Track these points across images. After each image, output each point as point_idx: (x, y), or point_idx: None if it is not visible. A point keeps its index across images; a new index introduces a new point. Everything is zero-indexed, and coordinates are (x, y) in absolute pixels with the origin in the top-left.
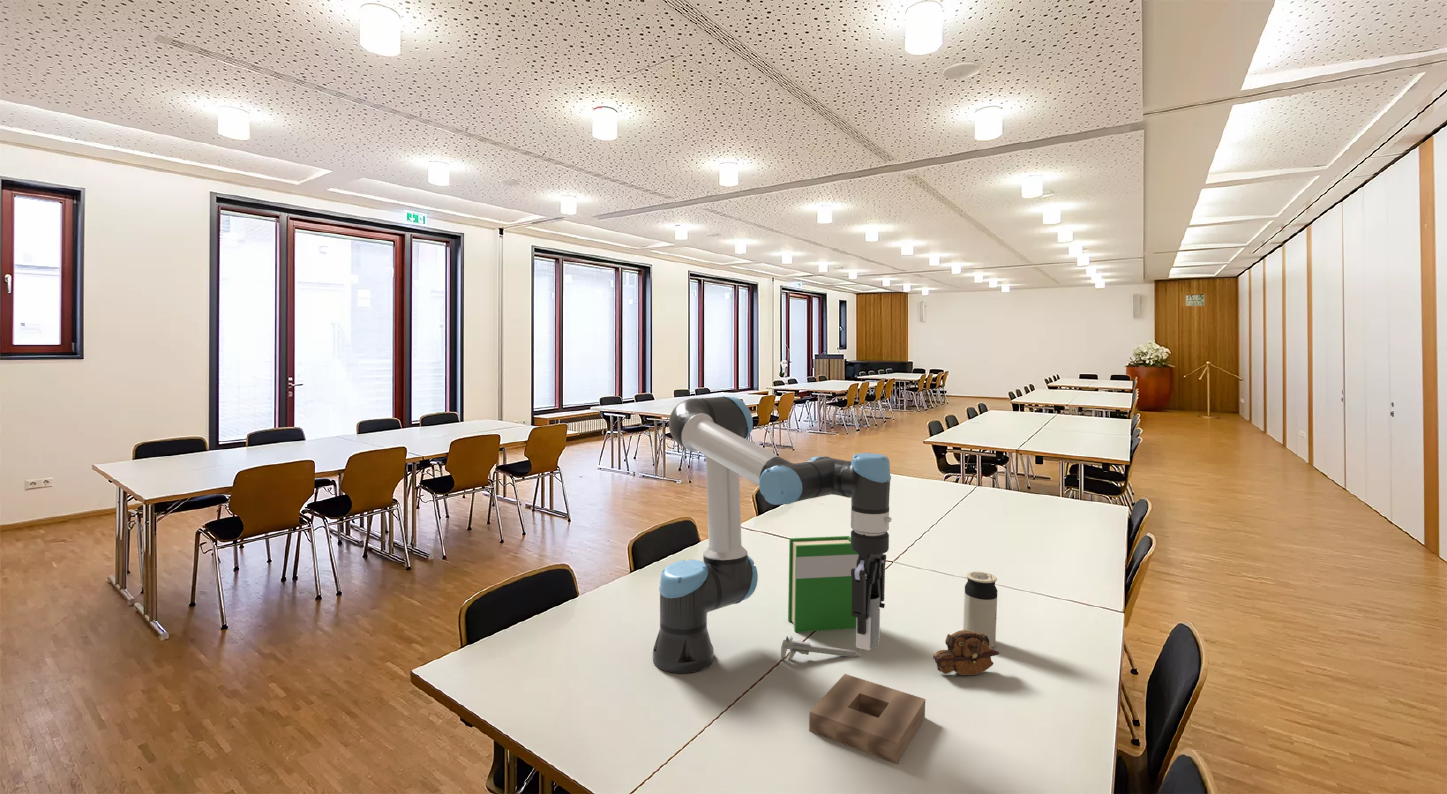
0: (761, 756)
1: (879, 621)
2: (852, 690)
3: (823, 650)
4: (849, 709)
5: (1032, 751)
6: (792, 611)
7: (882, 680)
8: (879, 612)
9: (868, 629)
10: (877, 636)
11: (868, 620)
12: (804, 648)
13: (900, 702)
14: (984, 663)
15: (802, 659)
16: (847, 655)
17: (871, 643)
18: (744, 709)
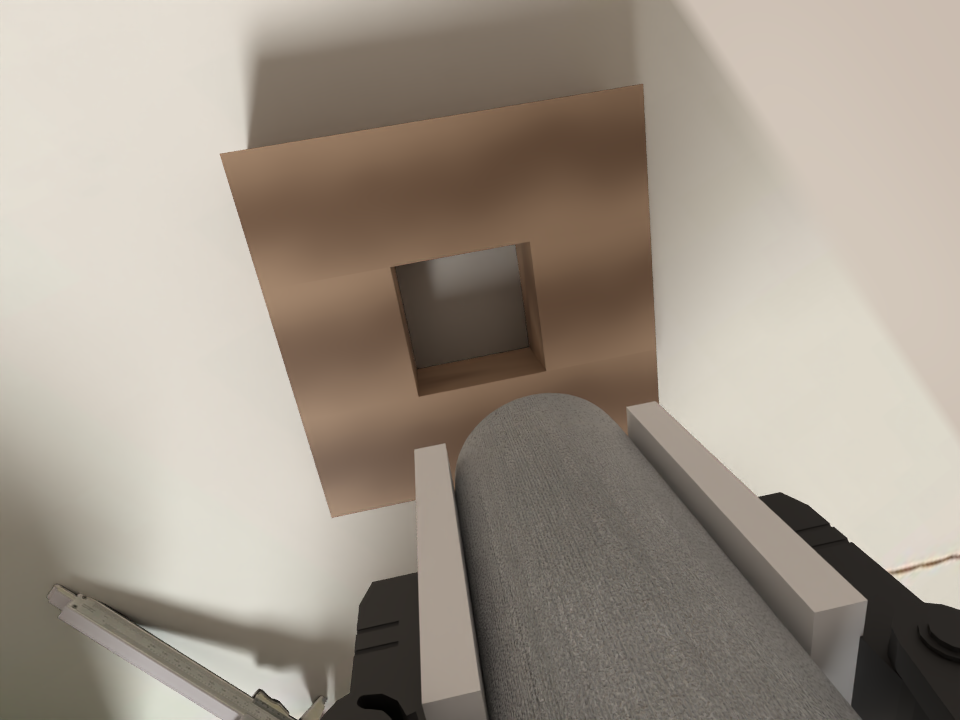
0: (817, 430)
1: (427, 557)
2: (422, 426)
3: (197, 676)
4: (554, 357)
5: None
6: None
7: (144, 426)
8: (439, 651)
9: (765, 508)
10: (569, 434)
11: (847, 587)
12: (266, 717)
13: (348, 231)
14: None
15: (280, 681)
16: (110, 612)
17: (619, 427)
18: None
